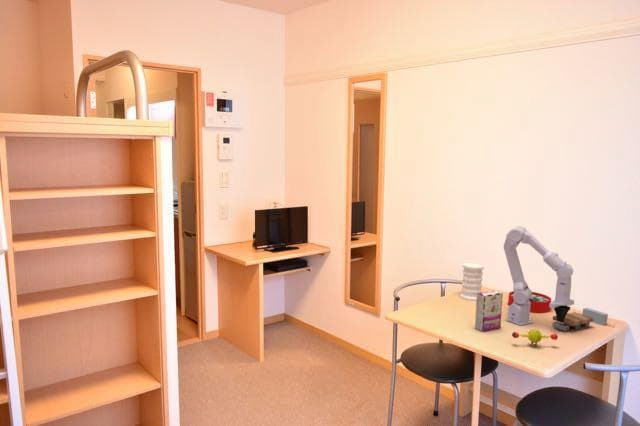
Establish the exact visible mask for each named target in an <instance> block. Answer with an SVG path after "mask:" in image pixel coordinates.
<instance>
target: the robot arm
mask: <svg viewBox="0 0 640 426" xmlns="http://www.w3.org/2000/svg"><path fill="white" fill-rule="evenodd" d="M505 237H506V238H505V240H504V243H503V251H504V255H505V257H506V261H507V265H508V269H509V272H510V275H511V279H512V283H513V286H512V287H513V288H512V291H514V295H513V298H514V302H513V304H512V305H510V306H509V305H508V309H507V318H506V319H505V321H508V322H509V323H513V324H516V325H517V326H524V325H529V324H533V323H534V321H533V320H530V315H531V313H530V305H531V303H530V300H529V299H530V298H531V297H532V292H533V291H532V290H531V289H530V287H529V285H528V283H527V281H525V280H526V279H525V276H524V272H523V269H522V266H521V261H520V258H519V254H518V252H517V247H518V246H519V244H520V243H521V244H526V245H529V246H530V247H531V248H532V249H534V250H535V251H536V252H537V253H538V254H540V255H541V256H542V259H543V262H545V264H546V265H547V266H548V267H550V268H551V269H552V270H553V271H554V272H556V276H557V280H556V285H555V286H556V287H555V296H554V297H555V298H554V300H553V301H551V303H550V305H549V307H550V308H551V309H554V312H555V314H556V315H555V316H557V321H556V322H559V323H562V322H564V319H565V317H566V314H568V313H569V311H570V310H571V306H572V305H574V304H575V300H574V299H572V298H571V293H572V292H571V291H572V276H573V274H574V269H573V267H572V266H571V264H568V263H567V261H564V260H563V259H561V257H559V254H558V252H554V251H549V250H548V249H547V248H546V247H545V246H544V245H543V244H542V243H541V242H540V241H539V240H538V238H537V237H535V236H534V235H533V234H532V233H531V232H530V231H529V230H527V229H526V228H525V227H523V226H516V227H514V228H511V229H510V230H509V231H508V232H507V233H506V236H505ZM562 324H563V323H562Z"/></svg>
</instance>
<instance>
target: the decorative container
mask: <svg viewBox="0 0 640 426" xmlns="http://www.w3.org/2000/svg"><path fill="white" fill-rule="evenodd" d="M462 268H463V271H462V273H463V275H462V283H461V285H462V287H461V293H460V294H459V298H461V299H463V300H465V301H470V302H476V301H477V293H481V292H482V286H483V284H482V281H483V277H482V276H483V273H484V272H483V270H484V269H485V266H484V265H483V264H480V263H474V262H463V263H462Z"/></svg>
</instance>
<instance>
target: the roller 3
mask: <svg viewBox="0 0 640 426" xmlns="http://www.w3.org/2000/svg"><path fill="white" fill-rule="evenodd" d="M590 323H591V322H588V323H583V324H580V326H582V327H585V328H587V327H590Z"/></svg>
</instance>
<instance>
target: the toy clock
mask: <svg viewBox="0 0 640 426" xmlns="http://www.w3.org/2000/svg"><path fill="white" fill-rule="evenodd" d="M513 295H514V291H513V290H512V291H510V292H509V293H508V298H507V299H508V301H507V305H508V307H509V306H510V305H512V304H513V302H514V298H513ZM529 300H530V303H531V305H530V314H531V313H532V314H546V313H550V312H551V309H552V308H550V307H549V305H550V303H552V298H551V297H550V296H548V295H546V294H543V293H539V292H535V291H532V297H531V298H530V299H529Z"/></svg>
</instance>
